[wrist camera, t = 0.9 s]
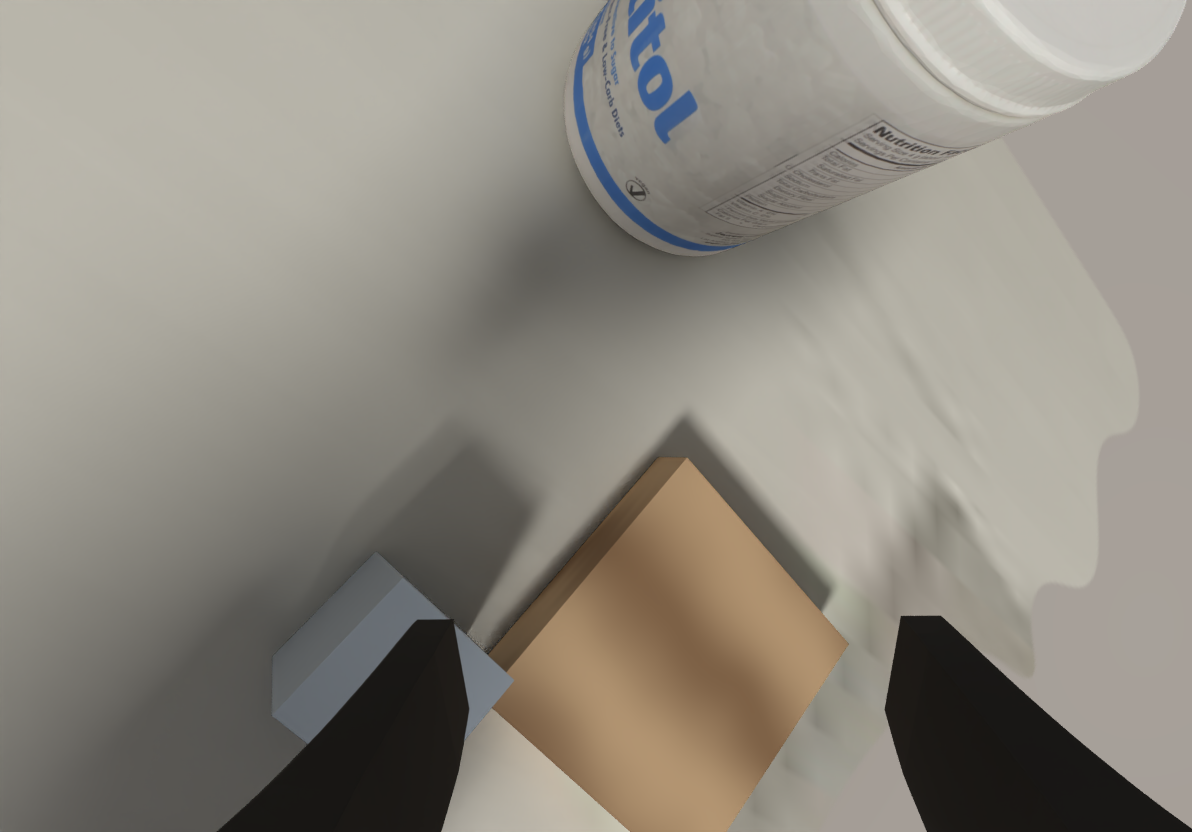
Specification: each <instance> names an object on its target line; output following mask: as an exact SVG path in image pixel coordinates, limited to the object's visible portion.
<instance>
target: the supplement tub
mask: <svg viewBox="0 0 1192 832" xmlns="http://www.w3.org/2000/svg"><path fill="white" fill-rule="evenodd" d="M1186 1H1187V0H609V1H608V2H607V4H606V5H605V6H604V7H603V9H602V10H601V11H600V13H599V14H598V15H597V17H596V18H595V20H594V21H593V23H592V24H591V25H590V26H589V28H588V29H587V30H586V32H585V34H584V35H583V37H582V38H581V40H580V42H579V44H578V46H577V48H576V50H575V52H574V54H573V57H572V59H571V62H570V66H569V69H568V74H567V78H566V83H565V91H564V119H565V127H566V134H567V138H568V142H569V146H570V149H571V152H572V154H573V157H574V160H575V163H576V165H577V167H578V170H579V172H580V174H581V176H582V178H583V180H584V182H585V183H586V185H587V187H588V189H589V190H590V192H591V193H592V195H593V197H594V198H595V199H596V201H597V202H598V203H599V205H600V206H601V207H602V209H603V210H604V211H605V212H606V213H607V214H608V216H609V217H610V218H611V219H612V220H613V221H614V222H615V223H616V224H618V225H619V226H620V227H621V228H622V229H624V230H625V231H626V232H627V233H629V234H630V235H632V236H633V237H635V238H636V239H638V240H639V241H641V242H643V243H645V244H647V245H649V246H651V247H654V248H656V249H659V250H662V251H664V252H668V253H672V254H676V255H683V256H706V255H712V254H717V253H720V252H724V251H726V250H729V249H731V248H734V247H736V246H739V245H741V244H744V243H746V242H749V241H752V240H754V239H756V238H759V237H761V236H763V235H766V234H768V233H771V232H773V231H776V230H778V229H781V228H783V227H785V226H788V225H790V224H792V223H795V222H797V221H800V220H802V219H804V218H807V217H809V216H812V215H814V214H817V213H819V212H821V211H824V210H826V209H829V208H831V207H834V206H836V205H839V204H841V203H843V202H846V201H848V200H851V199H853V198H855V197H858V196H860V195H863V194H865V193H867V192H870V191H872V190H874V189H877V188H879V187H882V186H884V185H886V184H889V183H891V182H894V181H896V180H898V179H901V178H903V177H906V176H908V175H911V174H913V173H915V172H918V171H920V170H923V169H925V168H928V167H930V166H933V165H935V164H937V163H940V162H942V161H945V160H947V159H949V158H952V157H954V156H957V155H959V154H962V153H964V152H967V151H969V150H972V149H974V148H977V147H979V146H981V145H984V144H986V143H988V142H991V141H993V140H995V139H998V138H1000V137H1002V136H1005V135H1007V134H1009V133H1012V132H1014V131H1017V130H1019V129H1021V128H1023V127H1026V126H1028V125H1031V124H1033V123H1035V122H1038V121H1040V120H1042V119H1044V118H1046V117H1048V116H1050V115H1053V114H1056V113H1059V112H1062V111H1064V110H1066V109H1068V108H1070V107H1072V106H1073V105H1075V104H1077V103H1078V102H1080V101H1081V100H1083V99H1084V98H1085V97H1087V96H1088V95H1089V94H1090V93H1092V92H1094V91H1096V90H1098V89H1101V88H1103V87H1105V86H1107V85H1109V84H1111V83H1114V82H1116V81H1118V80H1120V79H1122V78H1124V77H1126V76H1128V75H1131V74H1133V73H1135V72H1136V71H1138V70H1139V69H1141V68H1142V67H1144V66H1145V65H1146V64H1147V63H1149V62H1150V61H1151V60H1152V59H1153V58H1155V57H1156V56H1157V54H1158V53H1159V52H1160V51H1161V50H1162V48H1163V47H1164V46H1165V44H1166V43H1167V42H1168V40H1169V39H1170V37H1171V35H1172V33H1173V32H1174V30H1175V28H1176V26H1177V24H1178V22H1179V20H1180V17H1181V15H1182V13H1183V10H1184V7H1185V4H1186Z"/></svg>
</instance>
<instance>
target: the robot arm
mask: <svg viewBox="0 0 1192 832" xmlns="http://www.w3.org/2000/svg"><path fill="white" fill-rule="evenodd" d="M885 712H886V716H887V720H888V723H889V727H890V730H891V734H892V738H893V741H894V745H895V748H896V752H897V755H898V758H899V762H900V765H901V768H902V772H903V775H904V777H905V779H906V782H907V785H908V787H909V790H910V792H911V794H912V797H913V799H914V802H915V804H916V806H917V809H918V812H919V814H920V816H921V819H922V821H923V823H924V826H925V828H926V830H927V832H1192V829H1191V828H1190V827H1189V826H1187V825H1186V824H1184V823H1183V822H1182V821H1180V820H1179V819H1178V818H1176V817H1175V816H1174V815H1172V814H1171V813H1169V812H1168V811H1167V810H1165V809H1164V808H1162V807H1161V806H1160V805H1158V804H1157V803H1156V802H1155V801H1153V800H1152V799H1150V798H1149V797H1148V796H1147V795H1146V794H1144V793H1143V792H1142V791H1140V790H1139V789H1138V788H1136V787H1135V786H1134V785H1133V784H1131V783H1130V782H1129V781H1127V780H1126V779H1125V778H1124V777H1123V776H1122V775H1120V774H1119V773H1118V772H1116V771H1115V770H1114V769H1113V768H1112V767H1110V766H1109V765H1108V764H1107V763H1105V762H1104V761H1103V760H1102V759H1101V758H1099V757H1098V756H1097V755H1096V754H1094V753H1093V752H1092V751H1091V750H1089V749H1088V748H1087V747H1086V746H1085V745H1083V744H1082V743H1081V742H1080V741H1079V740H1078V739H1076V738H1075V737H1074V736H1073V735H1072V734H1070V733H1069V732H1068V731H1067V730H1066V729H1065V728H1063V727H1062V726H1061V725H1060V724H1059V723H1058V722H1057V721H1055V720H1054V719H1053V718H1052V717H1051V716H1050V715H1048V714H1047V713H1046V712H1045V711H1044V710H1043V709H1042V708H1041V707H1039V706H1038V705H1037V704H1036V703H1035V702H1034V701H1033V700H1031V699H1030V698H1029V697H1028V696H1027V695H1026V694H1025V693H1024V692H1023V691H1022V690H1020V689H1019V688H1018V687H1017V686H1016V685H1015V684H1014V683H1013V682H1012V681H1011V680H1009V679H1008V678H1007V677H1006V676H1005V675H1004V674H1003V673H1002V672H1001V671H999V669H998V668H997V667H995V666H994V665H993V664H992V663H991V662H990V661H989V660H988V659H987V658H986V657H985V656H984V655H982V653H980V652H979V651H978V650H977V649H976V648H975V647H974V646H973V645H972V644H971V643H970V642H969V641H968V640H967V639H966V638H965V637H963V636H962V635H961V634H960V633H959V632H958V631H957V630H956V629H955V628H954V627H953V626H952V625H951V624H949V623H948V622H947V621H946V620H945V619H944V618H943V617H942V616H901V619H900V625H899V630H898V636H897V642H896V648H895V653H894V659H893V665H892V671H891V676H890V682H889V688H888V693H887V699H886V705H885ZM468 715H469V703H468V698H467V692H466V687H465V681H464V676H463V670H462V665H461V659H460V654H459V648H458V643H457V637H456V632H455V626H454V621H453V619H417V620H416V621H415V622H414V623H413V624H412V625H411V626H410V627H409V629H408V630H407V631H406V632H405V633H404V635H403V636H402V637H401V638H400V639H399V641H398V642H397V643H396V644H395V646H394V647H393V648H392V649H391V650H390V652H389V653H388V654H387V655H386V656H385V658H384V659H383V660H382V661H381V662H380V664H379V665H378V666H377V667H376V668H375V670H374V671H373V672H372V673H371V674H370V675H369V677H368V678H367V679H366V680H365V681H364V683H363V684H362V685H361V686H360V687H359V688H358V689H357V691H356V692H355V693H354V694H353V695H352V696H351V697H350V699H349V700H348V701H347V702H346V703H345V704H344V705H343V706H342V708H341V709H340V710H339V711H338V712H337V713H336V714H335V715H334V717H333V718H332V719H331V720H330V721H329V722H328V723H327V724H326V725H325V727H324V728H323V729H322V730H321V731H320V732H319V733H318V734H317V735H316V736H315V737H314V738H313V739H312V740H311V741H310V742H309V743H308V744H307V745H306V747H305V748H304V749H303V750H302V751H301V752H300V753H299V754H298V755H297V756H296V757H295V758H294V759H293V760H292V761H291V762H290V763H289V764H288V765H287V766H286V767H285V768H284V769H283V770H282V771H281V772H280V773H279V774H278V775H277V776H276V777H275V778H274V779H273V780H272V781H271V782H270V783H269V784H268V785H267V786H266V787H265V788H264V789H263V790H262V791H261V792H260V793H259V794H258V795H257V796H256V797H254V798H253V799H252V800H251V801H250V802H249V803H248V804H247V805H246V806H245V807H244V808H243V809H242V810H240V811H239V812H238V813H237V814H236V815H235V816H234V817H233V818H232V819H231V820H229V821H228V822H227V823H226V824H225V825H224V826H223V827H222V828H221V829H219V830H218V831H217V832H441V830H442V827H443V824H444V820H445V817H446V813H447V810H448V807H449V803H450V800H451V796H452V793H453V789H454V786H455V782H456V779H457V775H458V772H459V766H460V761H461V756H462V750H463V745H464V739H465V733H466V727H467V721H468Z"/></svg>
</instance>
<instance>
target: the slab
mask: <svg viewBox="0 0 1192 832" xmlns="http://www.w3.org/2000/svg"><path fill="white" fill-rule="evenodd" d="M848 645H849V644H848V643H847V641H846V640H845V639H844V638H843V637H842V636H841V634H840V633H839V632H838V631H837V630H836V629H835V628H834V626H833V625H832V624H831V623H830V622H829V621H828V619H827V618H826V617H825V616H824V615H823V614H822V613H821V611H820V610H819V609H818V608H817V607H816V606H815V604H814V603H813V602H812V601H811V600H810V599H809V598H808V596H807V595H806V594H805V593H804V592H803V591H802V589H801V588H800V587H799V586H798V585H797V584H796V582H795V581H794V580H793V579H792V578H791V577H790V576H789V574H788V573H787V572H786V571H785V570H784V569H783V567H782V566H781V565H780V564H779V563H778V562H777V561H776V559H775V558H774V557H773V556H772V555H771V554H770V552H769V551H768V550H767V549H766V548H765V547H764V546H763V544H762V543H761V542H760V541H759V540H758V539H757V537H756V536H755V535H754V534H753V533H752V532H751V531H750V529H749V528H748V527H747V526H746V525H745V524H744V522H743V521H742V520H741V519H740V518H739V517H738V516H737V514H736V513H735V512H734V511H733V510H732V509H731V507H730V506H729V505H728V504H727V503H726V502H725V501H724V499H723V498H722V497H721V496H720V495H719V494H718V492H717V491H716V490H715V489H714V488H713V487H712V486H711V484H710V483H709V482H708V481H707V480H706V479H705V477H704V476H703V475H702V474H701V473H700V472H699V471H698V469H697V468H696V467H695V466H694V465H693V464H692V462H691V461H690V460H689V459H688V458H687V457H658V458H657V459H656V460H655V461H654V462H653V464H652V465H651V466H650V467H649V468H648V469H647V471H646V472H645V473H644V474H643V475H642V476H641V478H640V479H639V480H638V481H637V482H636V483H635V485H634V486H633V487H632V488H631V489H630V490H629V492H628V493H627V494H626V495H625V496H624V497H623V498H622V500H621V501H620V502H619V503H618V504H617V505H616V507H615V508H614V509H613V510H612V511H611V512H610V514H609V515H608V516H607V517H606V518H605V519H604V521H603V522H602V523H601V524H600V525H599V526H598V528H597V529H596V530H595V531H594V532H593V533H592V534H591V536H590V537H589V538H588V539H587V540H586V541H585V543H584V544H583V545H582V546H581V547H580V548H579V550H578V551H577V552H576V553H575V554H574V555H573V557H572V558H571V559H570V560H569V561H568V562H567V564H566V565H565V566H564V567H563V568H562V569H561V571H560V572H559V573H558V574H557V575H556V576H555V577H554V579H553V580H552V581H551V582H550V583H549V584H548V586H547V587H546V588H545V589H544V590H543V591H542V593H541V594H540V595H539V596H538V597H537V598H536V600H535V601H534V602H533V603H532V604H531V605H530V607H529V608H528V609H527V610H526V611H525V612H524V613H523V615H522V616H521V617H520V618H519V619H518V620H517V622H516V623H515V624H514V625H513V626H512V627H511V629H510V630H509V631H508V632H507V633H506V634H505V636H504V637H503V638H502V639H501V640H500V641H499V643H498V644H497V645H496V646H495V647H494V648H493V649H492V651H491V652H490V653H489V654H488V656H490V657H491V658H492V659H493V660H494V661H495V662H496V663H497V664H498V665H499V666H500V667H501V668H502V669H503V670H504V671H505V672H506V673H507V674H508V675H509V676H510V677H511V678H513V679H514V682H513V683H512V684H511V685H510V686H509V688H508V689H507V690H506V691H505V692H504V694H503V695H502V696H501V697H500V698H499V700H498V701H497V702H496V703H495V704H494V706H493V707H492V708H493V709H494V710H495V711H496V712H497V713H498V714H500V715H501V716H502V717H503V718H504V719H505V720H506V721H507V722H508V723H510V724H511V725H512V726H513V727H514V728H515V729H516V730H517V731H519V732H520V733H521V734H522V735H523V736H524V737H525V738H526V739H527V740H529V741H530V742H531V743H532V744H533V745H534V746H535V747H536V748H537V749H539V750H540V751H541V752H542V753H543V754H544V755H545V756H546V757H547V758H549V759H550V760H551V761H552V762H553V763H554V764H555V765H556V766H558V767H559V768H560V769H561V770H562V771H563V772H564V773H565V774H566V775H568V776H569V777H570V778H571V779H572V780H573V781H574V782H575V783H576V784H578V785H579V786H580V787H581V788H582V789H583V790H584V791H585V792H586V793H588V794H589V795H590V796H591V797H592V798H593V799H594V800H595V801H597V802H598V803H599V804H600V805H601V806H602V807H603V808H604V809H605V810H607V811H608V812H609V813H610V814H611V815H612V816H613V817H614V818H615V819H617V820H618V821H619V822H620V823H621V824H622V825H623V826H624V827H625V828H627V829H628V830H629V831H630V832H726V831H727V830H728V828H729V827H730V825H731V824H732V822H733V821H734V819H735V818H736V816H737V815H738V813H739V811H740V810H741V808H742V807H743V805H744V804H745V802H746V801H747V799H748V798H749V796H750V795H751V793H752V792H753V790H754V789H755V787H756V785H757V784H758V782H759V781H760V779H761V778H762V776H763V775H764V773H765V772H766V770H767V769H768V767H769V766H770V764H771V762H772V761H773V759H774V758H775V756H776V755H777V753H778V752H779V750H780V749H781V747H782V746H783V744H784V743H785V741H786V740H787V738H788V736H789V735H790V733H791V732H792V730H793V729H794V727H795V726H796V724H797V723H798V721H799V720H800V718H801V717H802V715H803V713H804V712H805V710H806V709H807V707H808V706H809V704H810V703H811V701H812V700H813V698H814V697H815V695H816V694H817V692H818V691H819V689H820V687H821V686H822V684H823V683H824V681H825V680H826V678H827V677H828V675H829V674H830V672H831V671H832V669H833V668H834V666H835V664H836V663H837V661H838V660H839V658H840V657H841V655H842V654H843V652H844V651H845V649H846V648H847V646H848Z"/></svg>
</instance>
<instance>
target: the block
mask: <svg viewBox="0 0 1192 832" xmlns="http://www.w3.org/2000/svg"><path fill="white" fill-rule="evenodd" d="M417 619H449V618H448V617H447V616H446V615H445V614H444V613H443V612H442V611H441V610H439V609H438V608H437V607H436V606H435V605H434V604H433V603H432V602H431V601H430V600H429V599H428V598H426V597H425V596H424V595H423V594H422V593H421V592H420V591H419V590H418V589H417V588H416V587H415V586H413V585H412V584H411V583H410V582H409V581H408V580H407V579H406V578H405V577H404V576H403V575H402V574H400V573H399V572H398V571H397V570H396V569H395V568H394V567H393V566H392V565H391V564H390V563H389V562H387V561H386V560H385V559H384V558H383V557H382V556H381V555H380V554H379V553H378V552H377V551H376V552H375V553H374V554H373V555H372V556H371V557H370V558H369V559H368V560H367V561H366V562H365V563H364V564H363V565H362V566H361V567H360V568H359V569H358V570H357V571H356V572H355V573H354V574H353V575H352V576H351V577H350V578H349V579H348V580H347V581H346V582H345V583H344V584H343V585H342V586H341V587H340V588H339V589H338V590H337V591H336V592H335V593H334V594H333V595H332V596H331V597H330V598H329V599H328V600H327V601H326V602H325V603H324V604H323V605H322V606H321V607H320V608H319V609H318V610H317V611H316V613H315V614H314V615H313V616H312V617H311V618H310V619H309V620H308V621H307V622H306V623H305V624H304V625H303V626H302V627H301V628H300V629H299V630H298V631H297V632H296V633H295V634H294V635H293V636H292V637H291V638H290V639H289V640H288V641H287V642H286V643H285V644H284V645H283V646H282V647H281V648H280V649H279V650H278V651H277V652H276V653H275V654H274V655H273V656H272V716H273V717H274V718H276V719H277V720H278V721H279V722H281V723H282V724H283V725H284V726H286V727H287V728H288V729H289V730H291V731H292V732H293V733H294V734H296V735H297V736H298V737H299V738H301V739H302V740H303V741H304V742H306V743H307V744H308V743H309V742H310V741H311V740H312V739H313V738H314V737H315V736H316V735H317V734H318V733H319V732H320V731H321V730H322V729H323V728H324V727H325V725H326V724H327V723H328V722H329V721H330V720H331V719H332V718H333V717H334V715H335V714H336V713H337V712H338V711H339V710H340V709H341V708H342V706H343V705H344V704H345V703H346V702H347V701H348V700H349V699H350V697H351V696H352V695H353V694H354V693H355V692H356V691H357V689H358V688H359V687H360V686H361V685H362V684H363V683H364V681H365V680H366V679H367V678H368V677H369V675H370V674H371V673H372V672H373V671H374V670H375V668H376V667H377V666H378V665H379V664H380V662H381V661H382V660H383V659H384V658H385V656H386V655H387V654H388V653H389V652H390V650H391V649H392V648H393V647H394V646H395V644H396V643H397V642H398V641H399V639H400V638H401V637H402V636H403V635H404V633H405V632H406V631H407V630H408V629H409V627H410V626H411V625H412V624H413V623H414V622H415V621H416V620H417ZM454 626H455V632H456V637H457V643H458V648H459V654H460V659H461V665H462V670H463V676H464V681H465V687H466V692H467V698H468V703H469V715H468V721H467V727H466V733H465V739H466V738H467V737H468V736H469V734H470V733H471V732H472V731H473V730H474V728H475V727H476V726H477V725H478V724H479V722H480V721H481V720H482V719H483V718H484V716H485V715H486V714H487V713H488V712H489V710H490V709H491V708H492V707H493V706H494V704H495V703H496V702H497V701H498V700H499V698H500V697H501V696H502V695H503V694H504V692H505V691H506V690H507V689H508V688H509V686H510V685H511V684H512V683H513V682H514V679H513V678H511V677H510V676H509V675H508V674H507V673H506V672H505V671H504V670H503V669H502V668H501V667H500V666H499V665H498V664H497V663H496V662H495V661H494V660H493V659H492V658H491V657H490V656H488V655H487V654H486V653H485V652H484V651H483V650H482V649H481V648H480V647H479V646H478V645H477V644H476V643H475V642H474V641H473V640H472V639H471V638H470V637H469V636H468V635H466V634H465V633H464V632H463V631H462V630H461V629H460V628H459V627H458V626H457V625H456V624H455V623H454ZM465 739H464V741H465Z"/></svg>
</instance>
